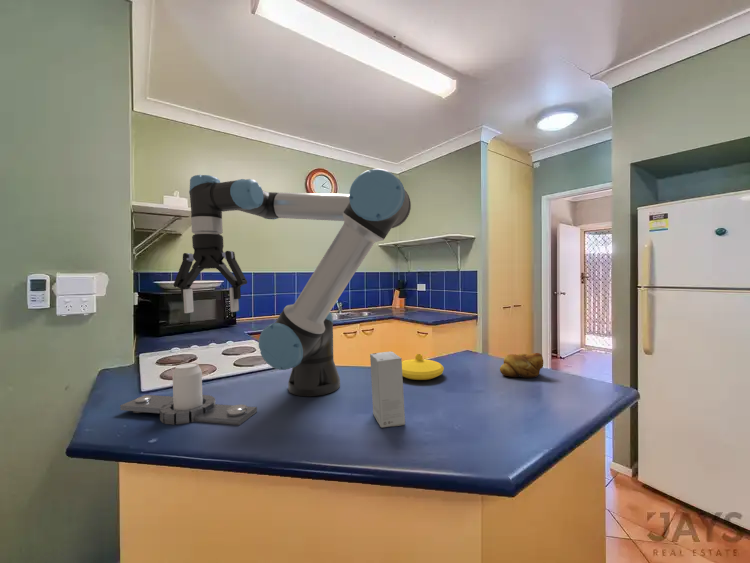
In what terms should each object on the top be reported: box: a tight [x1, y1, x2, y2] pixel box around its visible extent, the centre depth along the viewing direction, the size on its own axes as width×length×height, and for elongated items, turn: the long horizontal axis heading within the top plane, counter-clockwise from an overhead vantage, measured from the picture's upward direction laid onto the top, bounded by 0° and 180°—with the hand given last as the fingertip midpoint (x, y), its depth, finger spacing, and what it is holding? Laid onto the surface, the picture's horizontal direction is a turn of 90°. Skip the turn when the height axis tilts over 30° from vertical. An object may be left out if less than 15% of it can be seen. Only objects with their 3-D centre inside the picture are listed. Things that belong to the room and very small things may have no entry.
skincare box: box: [369, 351, 406, 428], centre depth 74 cm, size 8×6×15 cm
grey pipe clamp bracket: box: [119, 394, 258, 426], centre depth 80 cm, size 33×12×3 cm, turn 78°
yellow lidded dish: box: [402, 353, 445, 381], centre depth 105 cm, size 16×16×7 cm
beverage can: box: [172, 362, 203, 411], centre depth 80 cm, size 6×6×12 cm
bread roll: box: [499, 352, 544, 379], centre depth 104 cm, size 13×10×8 cm
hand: (211, 312), depth 88 cm, fingers open, 13 cm apart
